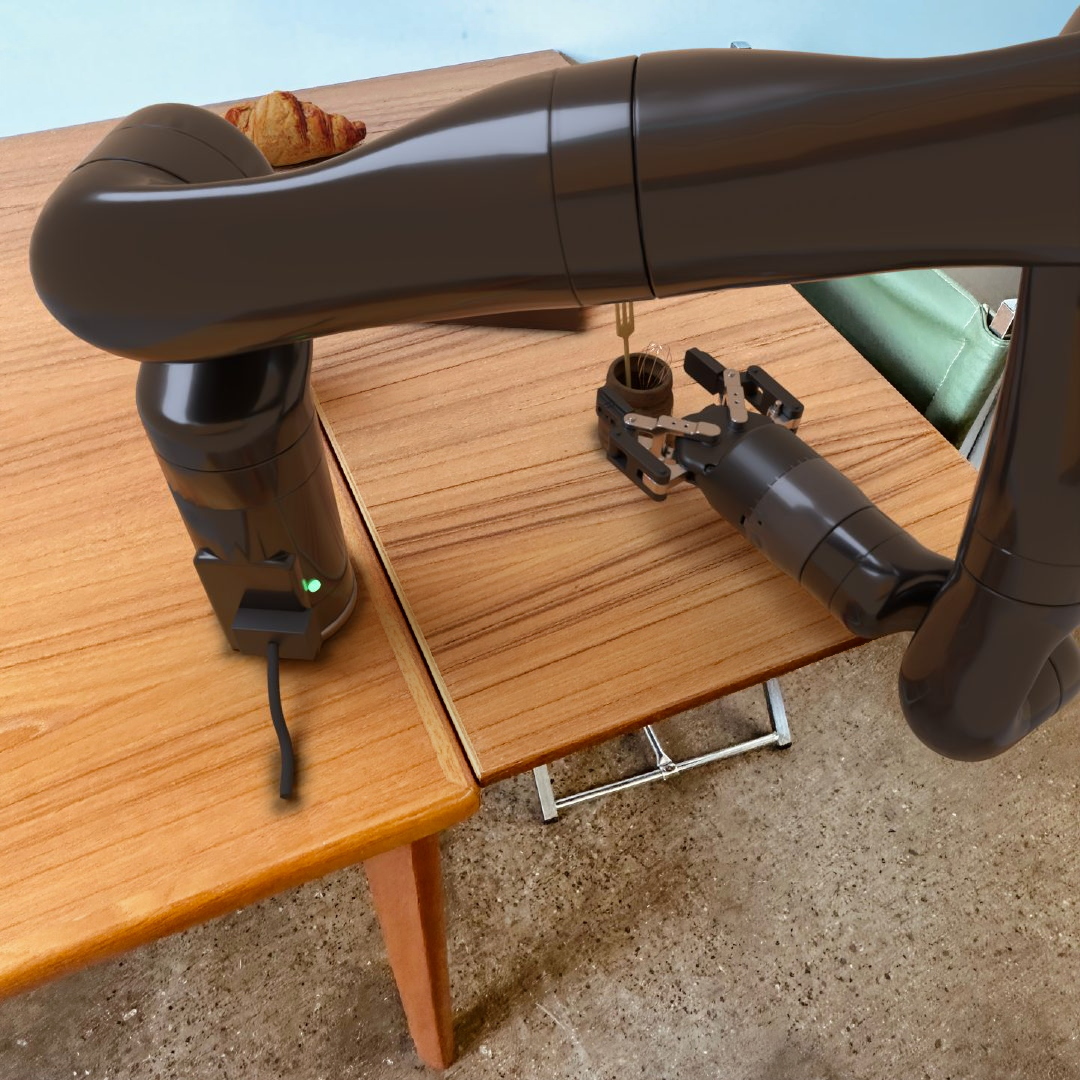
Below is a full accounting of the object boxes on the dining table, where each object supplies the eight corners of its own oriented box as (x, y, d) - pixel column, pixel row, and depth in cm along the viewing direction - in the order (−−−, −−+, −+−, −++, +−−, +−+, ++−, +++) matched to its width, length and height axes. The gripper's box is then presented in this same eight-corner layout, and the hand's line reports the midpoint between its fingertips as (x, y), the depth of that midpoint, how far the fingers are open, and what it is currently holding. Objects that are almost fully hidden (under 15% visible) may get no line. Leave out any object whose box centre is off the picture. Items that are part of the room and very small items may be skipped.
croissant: (192, 190, 108) (166, 147, 100) (195, 116, 110) (170, 68, 102) (372, 184, 108) (360, 141, 101) (371, 111, 111) (359, 63, 103)
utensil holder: (621, 472, 73) (636, 352, 64) (581, 426, 77) (589, 306, 68) (682, 448, 75) (704, 328, 66) (640, 404, 79) (655, 284, 70)
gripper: (880, 425, 62) (722, 305, 70) (720, 509, 56) (571, 368, 65) (850, 501, 67) (707, 381, 76) (702, 584, 62) (567, 445, 71)
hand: (644, 376), depth 70 cm, fingers open, 8 cm apart
